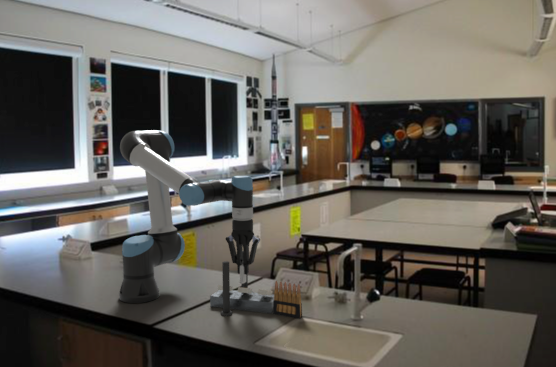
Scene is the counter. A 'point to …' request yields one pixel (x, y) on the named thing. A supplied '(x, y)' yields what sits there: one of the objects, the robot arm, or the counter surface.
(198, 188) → the robot arm
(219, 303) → the breaker panel
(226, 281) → the cord post near
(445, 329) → the counter surface
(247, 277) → the cord post far
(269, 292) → the paddle right
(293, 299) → the ammunition clip
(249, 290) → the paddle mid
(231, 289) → the paddle left
